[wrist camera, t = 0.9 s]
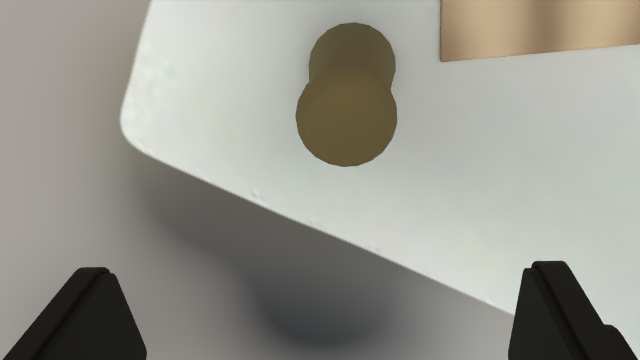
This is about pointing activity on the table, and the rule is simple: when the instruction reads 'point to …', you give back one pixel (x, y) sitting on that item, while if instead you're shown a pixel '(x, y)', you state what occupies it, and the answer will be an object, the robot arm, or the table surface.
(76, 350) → the robot arm
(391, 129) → the pepper shaker
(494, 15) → the wooden board
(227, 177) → the table surface
